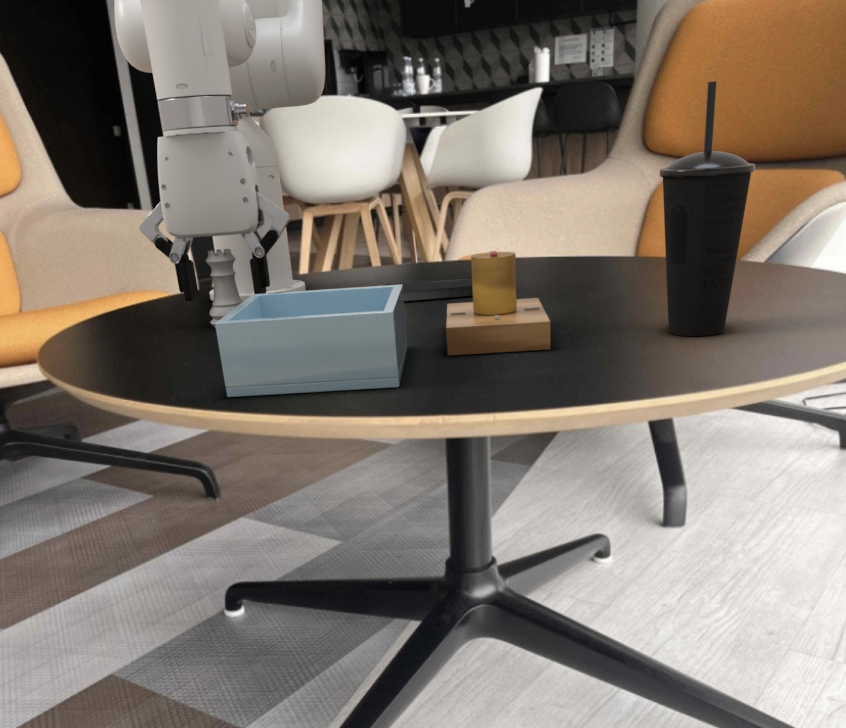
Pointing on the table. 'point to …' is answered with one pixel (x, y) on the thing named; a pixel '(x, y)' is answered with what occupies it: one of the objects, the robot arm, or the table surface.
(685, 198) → the drinking cup
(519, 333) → the panel
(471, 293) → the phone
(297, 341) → the basin
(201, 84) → the robot arm
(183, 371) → the table surface
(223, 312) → the rook chess piece
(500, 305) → the red-marked tan cylinder
